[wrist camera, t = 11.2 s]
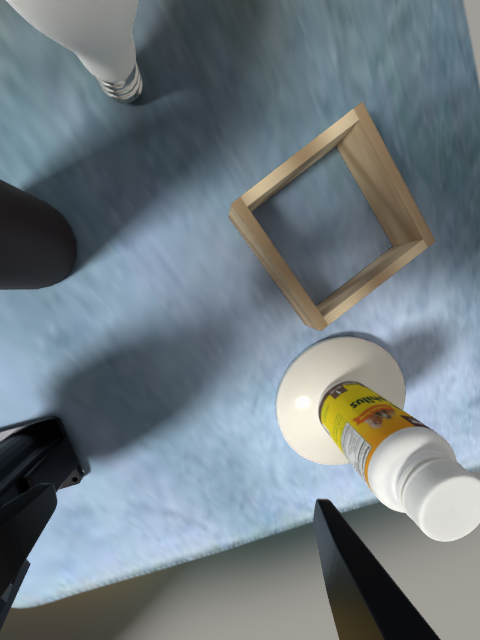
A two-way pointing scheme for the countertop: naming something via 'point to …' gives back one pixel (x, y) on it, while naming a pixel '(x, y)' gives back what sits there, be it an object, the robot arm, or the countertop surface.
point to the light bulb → (93, 38)
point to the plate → (318, 375)
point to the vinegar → (32, 241)
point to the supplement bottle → (402, 460)
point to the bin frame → (379, 190)
